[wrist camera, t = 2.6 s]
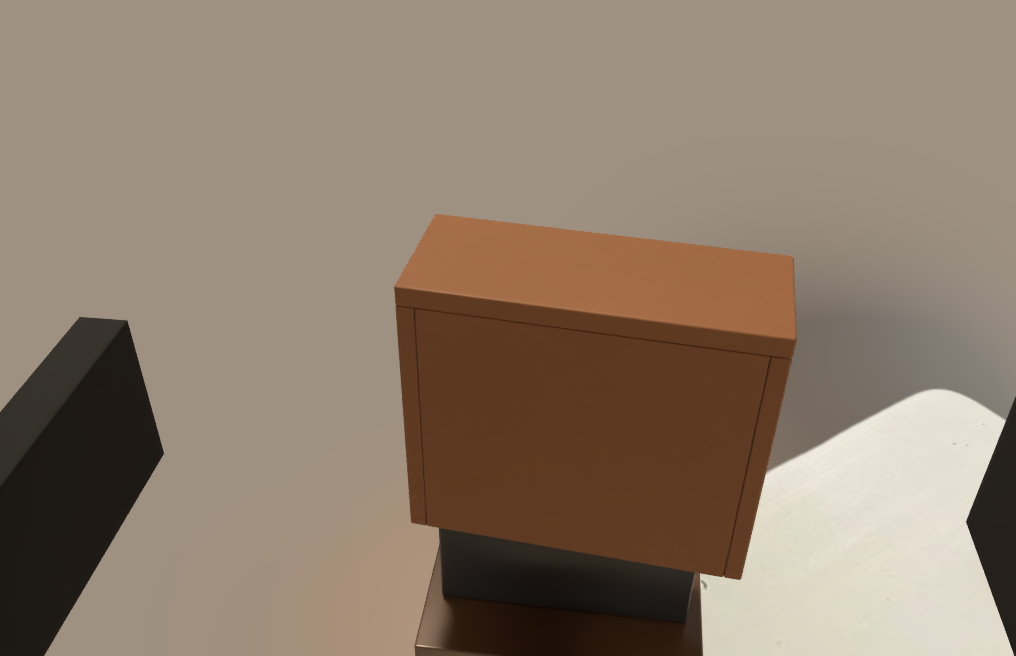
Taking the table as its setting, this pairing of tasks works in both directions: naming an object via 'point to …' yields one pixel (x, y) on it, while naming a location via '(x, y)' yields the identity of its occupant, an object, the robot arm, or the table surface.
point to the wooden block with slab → (554, 603)
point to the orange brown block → (592, 389)
